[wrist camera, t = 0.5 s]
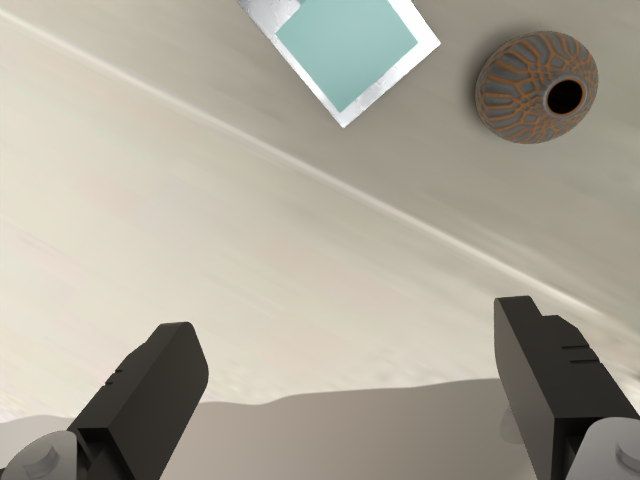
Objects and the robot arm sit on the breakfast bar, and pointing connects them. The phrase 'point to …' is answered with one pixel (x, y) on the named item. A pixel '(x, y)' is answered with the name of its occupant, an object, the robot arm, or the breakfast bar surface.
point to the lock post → (281, 3)
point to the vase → (536, 87)
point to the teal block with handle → (346, 44)
